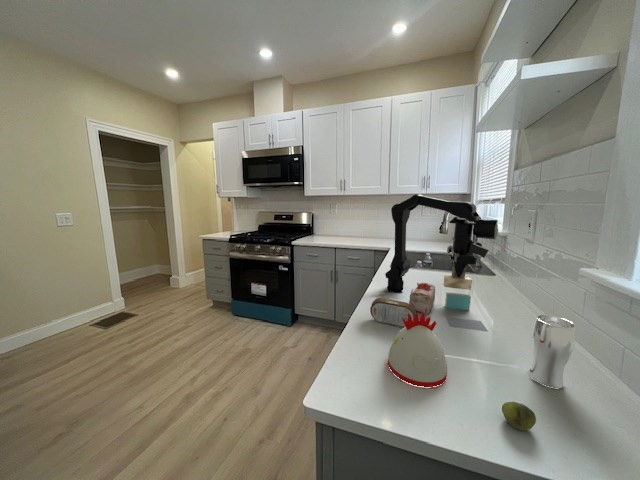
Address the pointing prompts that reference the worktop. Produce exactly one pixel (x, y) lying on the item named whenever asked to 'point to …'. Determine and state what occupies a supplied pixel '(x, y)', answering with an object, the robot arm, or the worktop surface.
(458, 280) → the cream brown stepped block
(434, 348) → the kitchen timer
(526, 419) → the lime
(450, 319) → the pad
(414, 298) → the food item
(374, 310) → the tin
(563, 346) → the beer glass
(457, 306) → the tile
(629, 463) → the worktop surface
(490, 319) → the worktop surface
